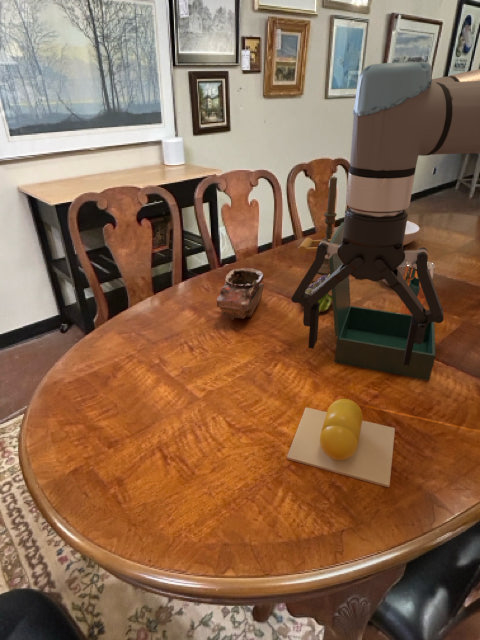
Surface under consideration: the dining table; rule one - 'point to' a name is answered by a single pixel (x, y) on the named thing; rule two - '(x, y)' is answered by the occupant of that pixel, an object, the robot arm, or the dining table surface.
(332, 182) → the candlestick holder
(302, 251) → the lid
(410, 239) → the serving bowl
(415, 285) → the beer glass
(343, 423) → the yellow capsule
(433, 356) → the open box
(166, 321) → the dining table surface
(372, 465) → the placemat
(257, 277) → the brown shoe shaped pot
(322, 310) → the passion flower
